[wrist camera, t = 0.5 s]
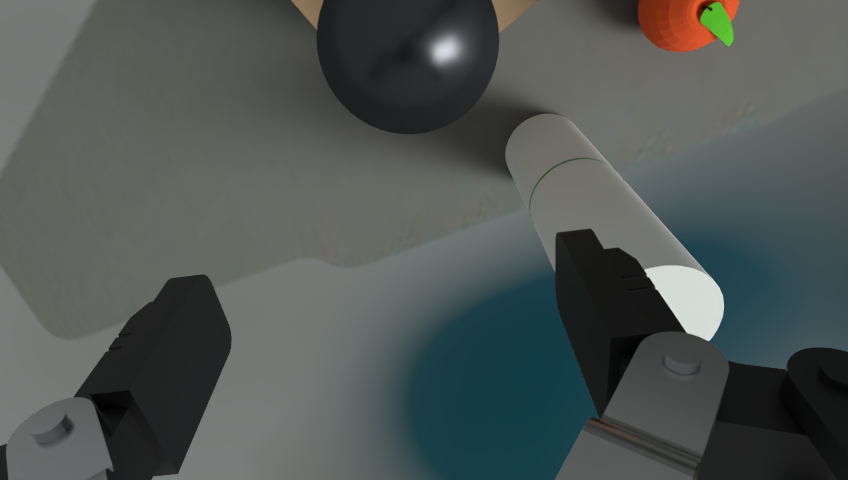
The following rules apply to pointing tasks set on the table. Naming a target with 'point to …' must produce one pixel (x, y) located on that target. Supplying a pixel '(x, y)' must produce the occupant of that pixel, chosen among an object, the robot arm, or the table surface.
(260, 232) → the table surface
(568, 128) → the cylindrical container
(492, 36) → the plunger
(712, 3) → the clementine
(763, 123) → the table surface
